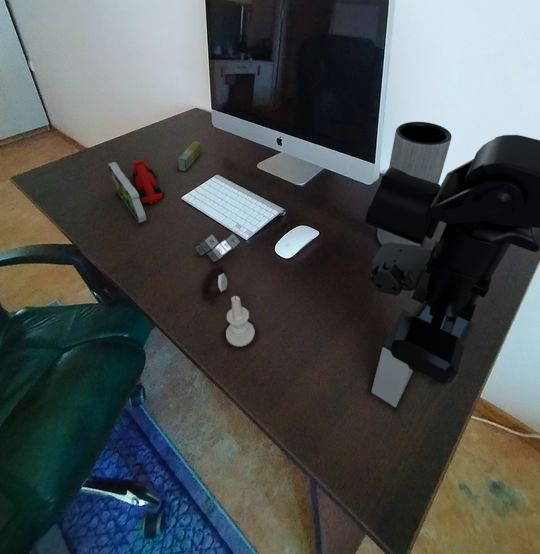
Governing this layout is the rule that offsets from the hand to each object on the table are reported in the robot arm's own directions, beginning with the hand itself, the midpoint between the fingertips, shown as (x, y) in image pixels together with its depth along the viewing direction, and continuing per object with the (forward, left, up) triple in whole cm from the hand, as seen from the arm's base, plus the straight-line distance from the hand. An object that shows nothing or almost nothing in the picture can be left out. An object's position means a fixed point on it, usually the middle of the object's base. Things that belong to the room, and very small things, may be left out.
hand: (423, 340), depth 47 cm
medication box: (+80, -38, -16) cm, 90 cm away
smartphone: (-1, -13, -16) cm, 21 cm away
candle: (+28, +4, -16) cm, 33 cm away
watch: (+39, -2, -16) cm, 42 cm away
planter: (+12, -36, -16) cm, 41 cm away
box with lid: (+2, -2, -16) cm, 16 cm away
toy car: (+80, -20, -16) cm, 84 cm away
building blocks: (+45, -10, -16) cm, 49 cm away
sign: (+78, -12, -16) cm, 81 cm away
